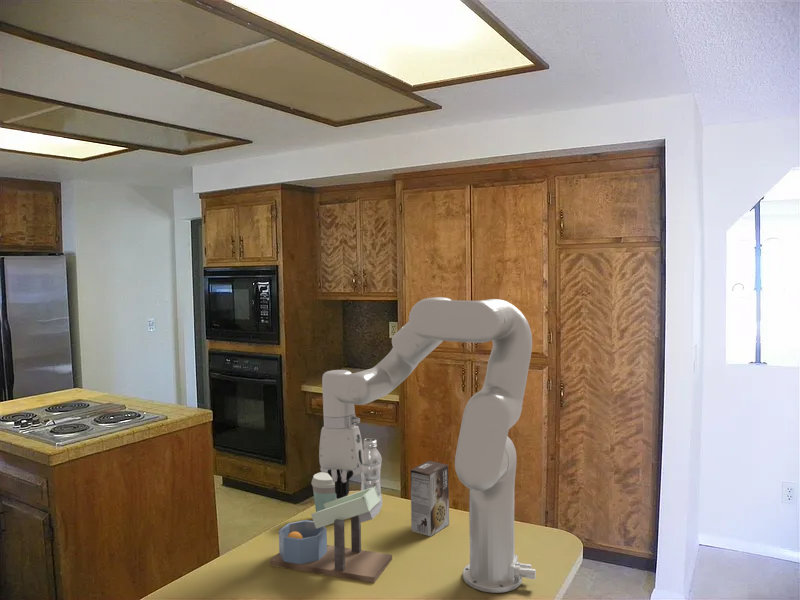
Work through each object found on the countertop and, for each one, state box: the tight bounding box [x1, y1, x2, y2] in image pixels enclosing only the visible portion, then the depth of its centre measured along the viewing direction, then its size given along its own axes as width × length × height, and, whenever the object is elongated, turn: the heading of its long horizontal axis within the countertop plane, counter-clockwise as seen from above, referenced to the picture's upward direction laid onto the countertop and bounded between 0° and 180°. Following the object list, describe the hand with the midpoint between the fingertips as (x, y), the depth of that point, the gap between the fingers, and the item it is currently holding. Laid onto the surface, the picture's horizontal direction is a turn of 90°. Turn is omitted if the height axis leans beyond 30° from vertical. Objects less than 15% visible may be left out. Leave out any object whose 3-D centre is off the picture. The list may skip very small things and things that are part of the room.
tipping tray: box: [310, 486, 382, 529], centre depth 136 cm, size 14×13×5 cm
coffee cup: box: [310, 471, 337, 512], centre depth 159 cm, size 8×8×12 cm
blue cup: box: [278, 519, 328, 564], centre depth 137 cm, size 10×10×6 cm
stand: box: [269, 515, 393, 584], centre depth 134 cm, size 26×11×12 cm, turn 71°
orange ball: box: [287, 532, 303, 539], centre depth 138 cm, size 4×4×4 cm
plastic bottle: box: [360, 437, 384, 510], centre depth 165 cm, size 6×7×20 cm
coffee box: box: [410, 460, 450, 537], centre depth 153 cm, size 9×6×16 cm
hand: (342, 496), depth 143 cm, fingers closed
